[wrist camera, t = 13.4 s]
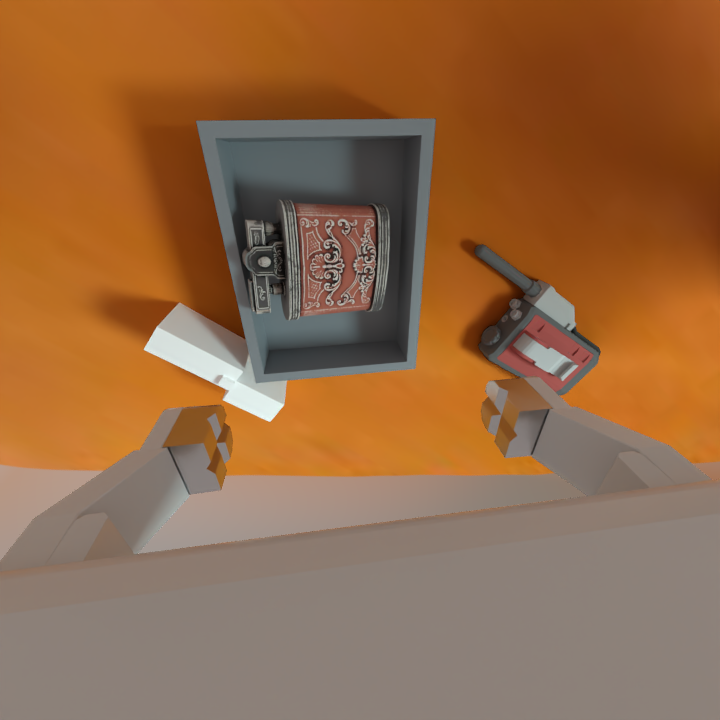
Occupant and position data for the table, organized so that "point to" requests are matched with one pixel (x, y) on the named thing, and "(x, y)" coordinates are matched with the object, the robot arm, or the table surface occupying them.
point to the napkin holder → (215, 360)
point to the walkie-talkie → (537, 333)
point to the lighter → (319, 258)
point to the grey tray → (325, 186)
